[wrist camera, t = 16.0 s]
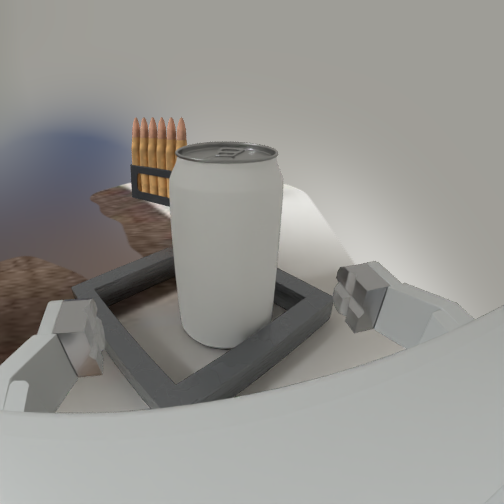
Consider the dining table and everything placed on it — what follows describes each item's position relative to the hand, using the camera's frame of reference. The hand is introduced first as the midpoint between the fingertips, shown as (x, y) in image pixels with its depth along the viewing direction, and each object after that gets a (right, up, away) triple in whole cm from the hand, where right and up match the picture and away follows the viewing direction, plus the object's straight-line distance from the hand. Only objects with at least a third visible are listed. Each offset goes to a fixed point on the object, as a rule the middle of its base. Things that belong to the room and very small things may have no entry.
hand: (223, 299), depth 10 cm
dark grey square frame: (-3, -3, +13) cm, 13 cm away
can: (-1, -4, +13) cm, 13 cm away
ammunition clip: (-12, +9, +33) cm, 37 cm away
